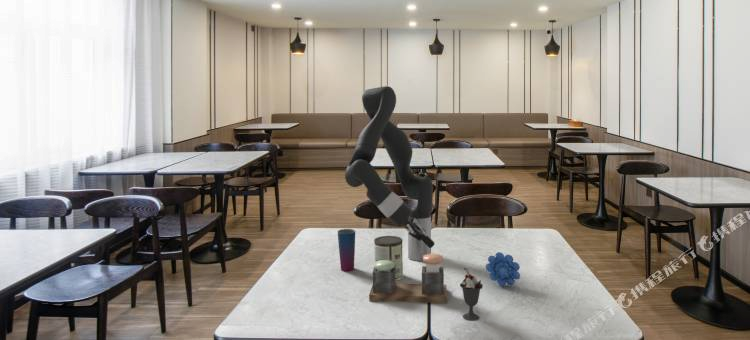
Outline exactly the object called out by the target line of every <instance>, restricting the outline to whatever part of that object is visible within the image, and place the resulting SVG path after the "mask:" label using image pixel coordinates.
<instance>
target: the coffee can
mask: <svg viewBox="0 0 750 340" xmlns="http://www.w3.org/2000/svg"><path fill="white" fill-rule="evenodd" d="M373 242H374V263H375V262H376V261H380V260H389V261H392V262H394V266H396V282H397V281H399V280H401V279H403V277H404V274H403V270H404V268H403V267H404V266H403V238H402V237H400V236H397V235H381V236H378V237H375V238H374V240H373Z"/></svg>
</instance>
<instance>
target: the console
mask: <svg viewBox="0 0 750 340" xmlns="http://www.w3.org/2000/svg"><path fill="white" fill-rule="evenodd" d="M444 270H445V269H444V266H439V273H429V272H426V265H425V266H424V265H423V266H422V268H421V283H401V282H397V281H396V266H394V268H393V269H392V270H391V272H385V271H377V270H376V269H375V266H374V267H373V270H372V286H371V289H370V292H369V295H368V300H369V302H392V303H393V302H397V303H399V302H400V303H425V304H427V303H428V304H429V303H431V304H433V303H434V304H447V303H448V294H447V293H448V291H447V284H444V283H445V281H444V280H445V278H444V277H445V275H444V274H445V272H444Z"/></svg>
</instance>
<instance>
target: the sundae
mask: <svg viewBox="0 0 750 340" xmlns="http://www.w3.org/2000/svg"><path fill="white" fill-rule="evenodd" d="M463 270H465V272H466V275H464V278H463V280H462V281H461V283H460V284H459V285H460V288H461V289H462V294H463V296H462V297H463V300H464V303H465V304H466V305H467V306H468V309H469V310H468V312H467V313H463V315H462V318H463V319H464V320H466V321H471V322H472V321H473V322H474V321H477V320H479V319H480V315H478V314H477V313H475V312H474V307H475V306H476V305H477V304H478V303H479V298H480V291H481V289H483V284H482V280H481V279H480V280H479V281H478V278H477V277H475V276H474V275H472V274H470V272H469V271H468V269H467V268H466V267H464V268H463Z"/></svg>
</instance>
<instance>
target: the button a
mask: <svg viewBox="0 0 750 340" xmlns="http://www.w3.org/2000/svg"><path fill="white" fill-rule="evenodd" d="M374 267H375V269H376V270H377V271H385V272H391V270H392V269H393V268H394V262H392V261H389V260H380V261H376V262H375V261H374Z"/></svg>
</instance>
